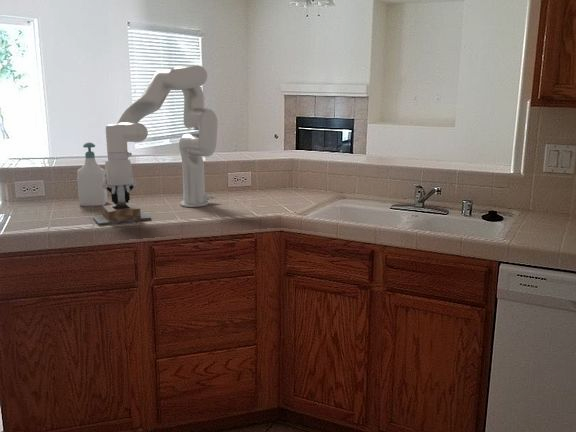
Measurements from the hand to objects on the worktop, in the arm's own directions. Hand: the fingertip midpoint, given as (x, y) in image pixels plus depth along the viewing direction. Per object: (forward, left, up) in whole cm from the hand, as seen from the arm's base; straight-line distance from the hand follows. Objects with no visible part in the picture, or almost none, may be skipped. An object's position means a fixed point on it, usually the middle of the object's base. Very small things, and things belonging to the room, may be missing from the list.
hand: (120, 202), depth 215 cm
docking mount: (0, 0, -7) cm, 7 cm away
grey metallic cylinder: (0, 0, -4) cm, 4 cm away
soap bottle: (+4, -36, -7) cm, 37 cm away
